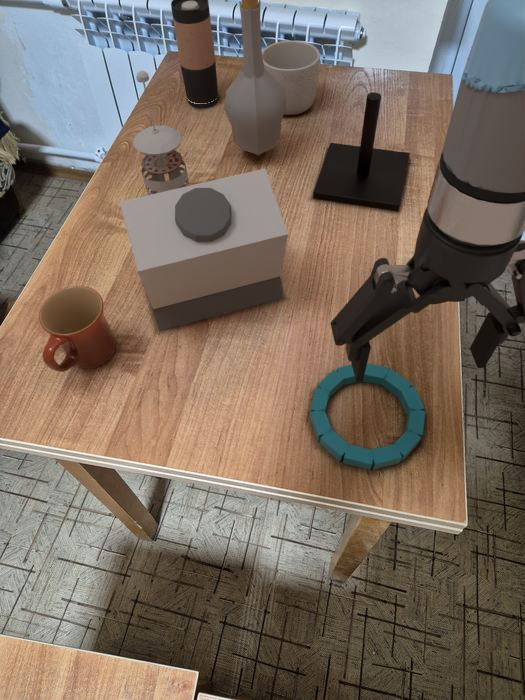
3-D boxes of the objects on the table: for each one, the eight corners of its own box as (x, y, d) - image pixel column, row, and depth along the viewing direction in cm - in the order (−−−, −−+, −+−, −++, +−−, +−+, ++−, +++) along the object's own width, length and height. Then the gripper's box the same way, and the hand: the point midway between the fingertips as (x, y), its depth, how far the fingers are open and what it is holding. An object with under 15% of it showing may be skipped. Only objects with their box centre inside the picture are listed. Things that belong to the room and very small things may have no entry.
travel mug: (185, 93, 119) (168, -4, 103) (217, 88, 120) (206, -9, 103) (188, 111, 115) (171, 12, 99) (221, 106, 116) (211, 7, 99)
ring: (426, 383, 73) (429, 375, 72) (414, 481, 65) (418, 475, 64) (323, 361, 76) (324, 353, 74) (300, 453, 68) (300, 447, 66)
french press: (148, 226, 94) (109, 93, 73) (144, 186, 101) (107, 54, 80) (200, 217, 95) (177, 83, 74) (193, 179, 101) (169, 46, 81)
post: (408, 159, 102) (427, 76, 89) (398, 211, 94) (417, 128, 80) (329, 148, 105) (336, 67, 92) (312, 198, 97) (317, 116, 83)
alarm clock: (258, 242, 91) (252, 139, 74) (287, 308, 82) (288, 208, 65) (144, 271, 88) (111, 170, 71) (162, 342, 79) (129, 246, 62)
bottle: (277, 174, 101) (274, 5, 76) (223, 167, 103) (203, -1, 78) (290, 141, 107) (292, -26, 82) (239, 135, 109) (225, -31, 84)
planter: (261, 121, 112) (259, 70, 103) (263, 90, 119) (261, 40, 110) (317, 120, 111) (320, 69, 102) (316, 89, 118) (319, 39, 109)
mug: (83, 323, 82) (60, 279, 73) (132, 336, 80) (114, 293, 71) (42, 384, 76) (11, 345, 67) (94, 400, 74) (69, 362, 65)
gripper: (608, 170, 42) (513, 325, 59) (307, 200, 41) (301, 349, 59) (657, 233, 38) (540, 380, 55) (323, 268, 37) (311, 406, 55)
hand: (417, 364), depth 57 cm, fingers open, 13 cm apart
